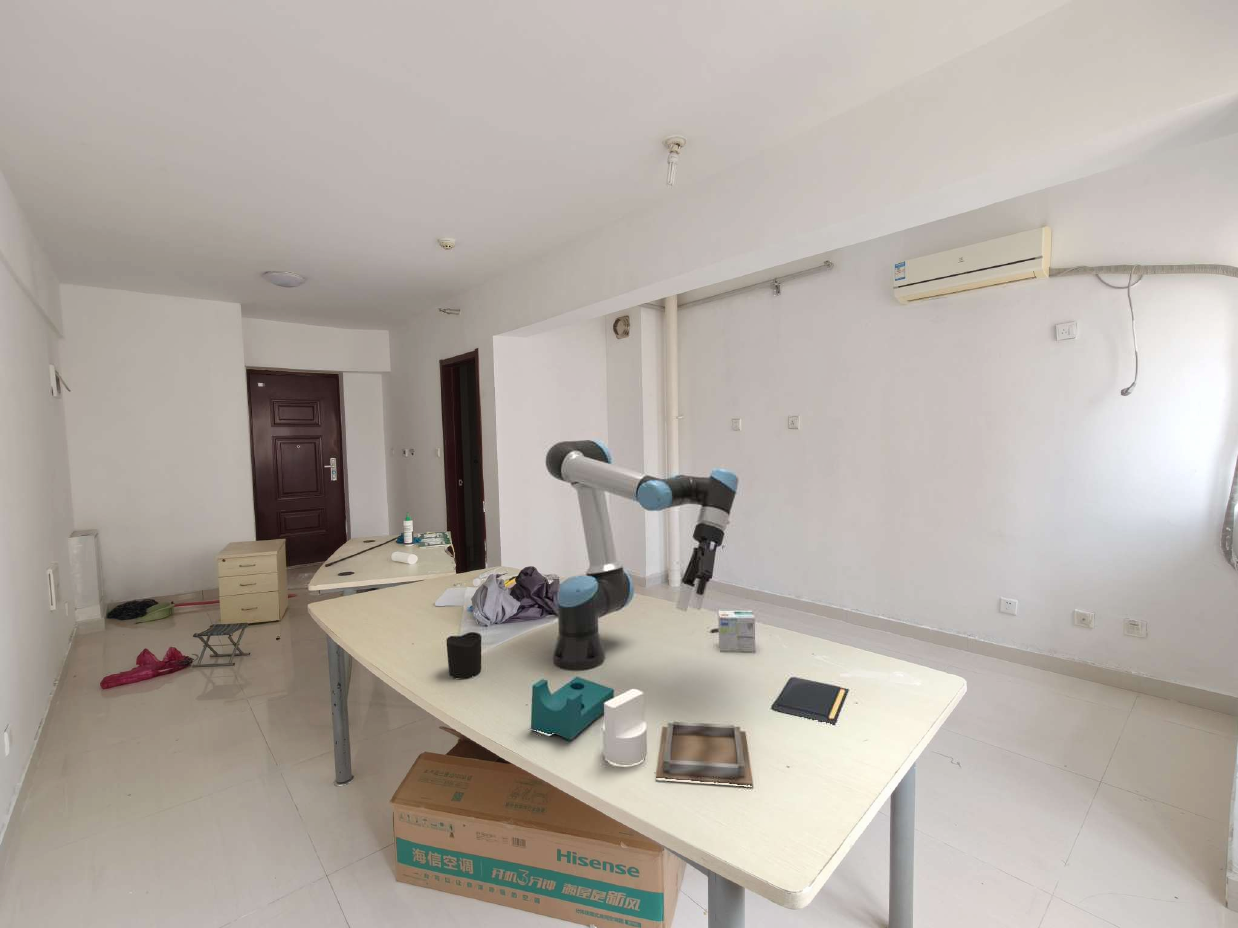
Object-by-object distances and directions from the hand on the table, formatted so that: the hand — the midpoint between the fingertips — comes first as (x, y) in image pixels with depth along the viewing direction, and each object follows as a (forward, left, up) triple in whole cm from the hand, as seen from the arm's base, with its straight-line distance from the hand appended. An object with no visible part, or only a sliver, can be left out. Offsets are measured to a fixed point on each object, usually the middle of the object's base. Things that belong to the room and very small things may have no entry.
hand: (687, 609), depth 136 cm
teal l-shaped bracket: (-26, -11, -23) cm, 37 cm away
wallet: (+30, +3, -24) cm, 38 cm away
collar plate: (+4, -24, -23) cm, 33 cm away
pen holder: (-62, +9, -23) cm, 67 cm away
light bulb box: (+14, +34, -23) cm, 44 cm away
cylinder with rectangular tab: (-12, -25, -23) cm, 36 cm away
